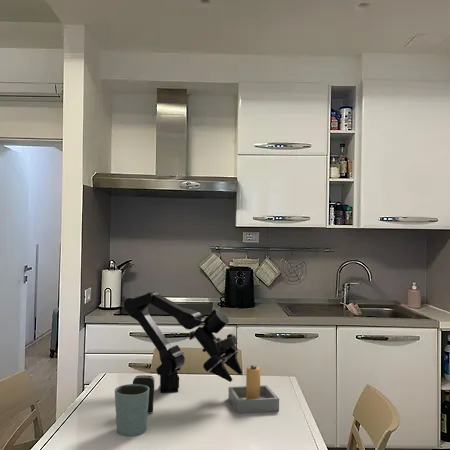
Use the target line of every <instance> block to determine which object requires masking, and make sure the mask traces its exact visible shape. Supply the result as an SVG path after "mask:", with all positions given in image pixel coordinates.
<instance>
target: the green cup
mask: <svg viewBox="0 0 450 450" xmlns="http://www.w3.org/2000/svg"><path fill="white" fill-rule="evenodd" d="M114 400H115V401H114V402H115V420H116V421H115V424H116V432H117V434H118V435H120V436H123V437H136V436H137V437H138V436H141V435H143V434H144V433H145V432H146V431H147V427H148V424H147V423H148V414H149V413H148V412H147V411H148V402H149V387H148V386H146V385H141V384H133V383H129V384H128V383H127V384H123V385H119V386H117V387H116V388H114Z"/></svg>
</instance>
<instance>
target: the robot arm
mask: <svg viewBox="0 0 450 450" xmlns="http://www.w3.org/2000/svg"><path fill="white" fill-rule="evenodd" d="M149 305H152V306H153V307H156V308H158V310H159V309H160V310H161V311H162V312H164V313H166V314H168V315H169V316H172V318H175V320H176V321H177V323H178V324H180V325H181V327H182V328H185V330H190V332H189V340H190V341H191V340H194V339H196V340H197V342H198V343H199V344H200V346H201V347H202V348H203V349H202V352H203V353H207V355H208V356H209V358H208V359H207V360H206V361H205V362H204V363H203V365H202V366H203V369H204V371H206V372H207V373H211V374H213V375H215V376H218V377H220V378H221V379H224V380H226V381H228V382H230V383H231V382H232V381H233V378H232V376H231V375H230V373H229V371H228V370H227V368H226V366H227V367H229V368H230V369H231V370H233V371H234V372H235V373H237V374H238V375H242V374H243V370H242V368H241V366H240V364H239V363H240V362H239V361H238V353H239V352H238V351H239V349H238V347H237V346H236V345H238V337H237V336H236V334H234V333H228V334H227V335H226V337H225V338H224V339H221V338H220V337H216V336H215V334H218V333H220V332H221V331H222V330H223V329H224V328H225V327H226V326H227V325H229V321H230V320H229V317H228V316H227V315H226V314H224V313H223V312H221V311H220V310H219V309H218V308H215V309H213V310H212V311H211V312H210V314H209V315H208V316H206V315H203V314H201V312H199V311H197V310H194V309H190V308H185V307H182V306H181V305H179V304H178V303H175V302H173V301H172V300H170V299H168V298H167V297H165V296H163V295H161V294H159V293H158V292H157V291H150V292H147V293H146V294H143V295H140V296H139V295H137V296H133V297H128V298H126V299H125V300H124V301H123V309H124V312H125V313H127V314H128V315H129V316H130V317H131V318H132V319H134V320H135V321H137V322H138V323H139V325H140V326H141V328H142V329H143V331H144V332H145V334H146V335H147V336H148V338H149V339H150V341H151V342H152V344H153V346H154V347H155V348H156V350H157V351H158V354H159V355H158V356H159V360H160V363H161V364H160V365H159V366H158V367H157V368H156V372H157V373H156V374H157V375H158V376H159V386H158V388H159V392H160V393H176V392H179V388H180V376H179V374H178V372H180V371H181V370H182V367H183V366H184V365H185V359H186V357H185V356H184V354H185V352H183V351H182V350H181V348H180V346H179V345H178V344H175V345H172V344H170V342H169V341H168V340H167V338H166V336H165V335H164V333H163V332H162V331H161V329H160V328H159V326H158V325H157V324H156V322H155V321H154V319H153V317H151V314H150V312H149ZM202 325H203V326H202ZM195 328H196V329H195ZM192 329H195V330H192Z"/></svg>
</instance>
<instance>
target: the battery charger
mask: <svg viewBox="0 0 450 450" xmlns="http://www.w3.org/2000/svg"><path fill="white" fill-rule="evenodd" d="M132 384H141V385H146V386H148V387H149V402H148V411H147V412H148V414H152V413H154V401H155V400H154V399H155V378H154V377H153V375H136V376H135V377H134V379H132Z"/></svg>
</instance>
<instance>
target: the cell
mask: <svg viewBox="0 0 450 450" xmlns="http://www.w3.org/2000/svg"><path fill="white" fill-rule="evenodd" d="M245 369H246V374H245V376H246V380H245V381H246V382H245V383H246V385H245V386H246V399H260V385H261V375H262V374H261V370H262V369H261V367H260V366H257V365H255V364H253V365H250V366H247V367H246V368H245Z"/></svg>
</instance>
